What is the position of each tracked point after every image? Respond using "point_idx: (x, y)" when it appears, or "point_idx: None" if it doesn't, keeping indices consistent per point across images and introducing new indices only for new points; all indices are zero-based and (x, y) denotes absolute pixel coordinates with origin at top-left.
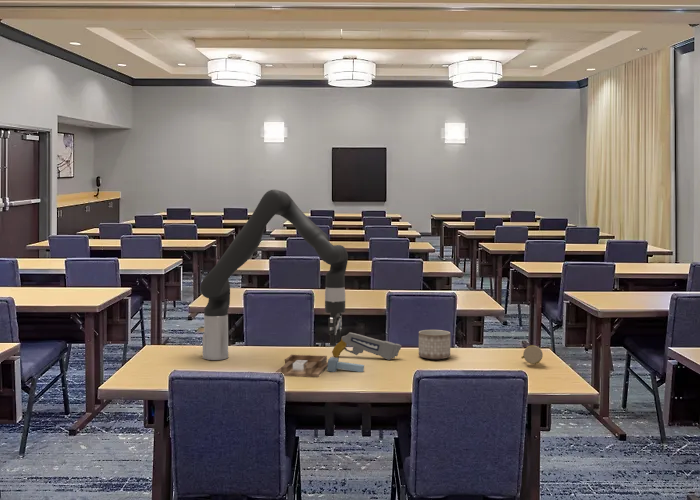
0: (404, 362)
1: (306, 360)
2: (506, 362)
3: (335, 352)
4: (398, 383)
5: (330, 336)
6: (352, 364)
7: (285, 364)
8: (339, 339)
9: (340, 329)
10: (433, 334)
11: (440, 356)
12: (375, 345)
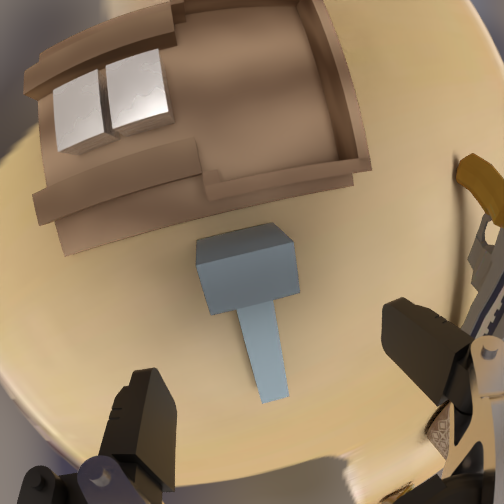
0: (417, 398)
1: (159, 107)
2: (403, 480)
3: (471, 170)
4: None
5: (100, 451)
6: (260, 368)
7: (82, 42)
8: (388, 352)
9: (455, 415)
10: None
11: (429, 439)
12: None
